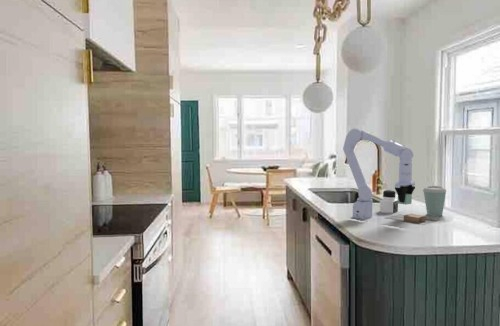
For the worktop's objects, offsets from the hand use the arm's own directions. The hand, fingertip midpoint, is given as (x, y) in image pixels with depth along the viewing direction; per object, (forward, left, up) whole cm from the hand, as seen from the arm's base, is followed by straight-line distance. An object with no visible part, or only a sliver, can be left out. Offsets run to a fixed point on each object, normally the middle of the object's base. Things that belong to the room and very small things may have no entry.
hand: (404, 201), depth 198 cm
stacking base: (0, -3, -9) cm, 10 cm away
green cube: (0, 0, -1) cm, 1 cm away
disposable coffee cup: (+20, -4, -9) cm, 22 cm away
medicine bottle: (+10, +15, -9) cm, 20 cm away
